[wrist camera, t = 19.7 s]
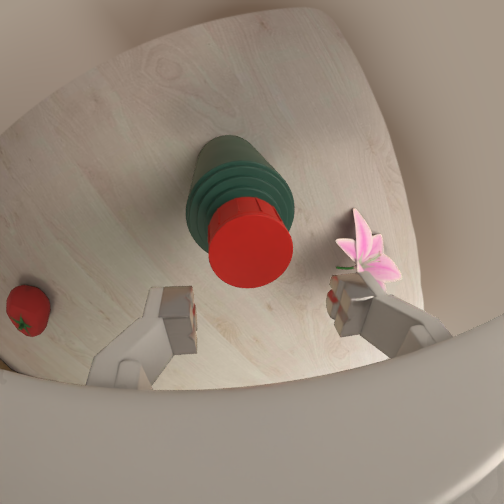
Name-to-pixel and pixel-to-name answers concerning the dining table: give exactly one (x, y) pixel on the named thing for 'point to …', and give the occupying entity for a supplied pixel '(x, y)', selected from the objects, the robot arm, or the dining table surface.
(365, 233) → the lily
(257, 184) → the bottle
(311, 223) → the dining table surface
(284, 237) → the cap
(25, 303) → the tomato
